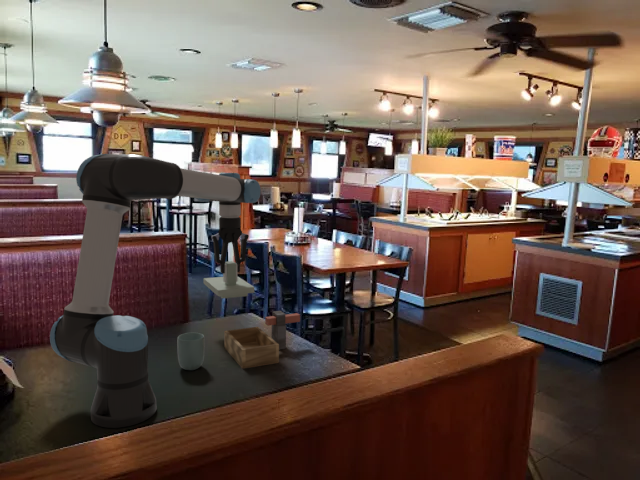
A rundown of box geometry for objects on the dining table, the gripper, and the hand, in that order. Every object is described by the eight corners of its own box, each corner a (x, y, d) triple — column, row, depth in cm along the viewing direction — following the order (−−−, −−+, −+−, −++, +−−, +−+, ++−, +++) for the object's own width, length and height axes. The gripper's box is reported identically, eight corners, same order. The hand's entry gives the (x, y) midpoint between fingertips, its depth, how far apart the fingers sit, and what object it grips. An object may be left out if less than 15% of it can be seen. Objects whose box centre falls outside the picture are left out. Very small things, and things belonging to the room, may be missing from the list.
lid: (254, 296, 173) (254, 264, 171) (218, 300, 167) (217, 267, 165) (236, 284, 191) (236, 255, 190) (203, 287, 185) (203, 257, 184)
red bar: (300, 321, 171) (300, 315, 171) (267, 325, 166) (267, 318, 165) (297, 319, 173) (297, 313, 173) (265, 323, 168) (265, 317, 167)
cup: (172, 369, 148) (171, 337, 147) (190, 361, 155) (190, 330, 154) (192, 374, 144) (191, 342, 143) (209, 366, 151) (209, 335, 150)
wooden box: (298, 359, 158) (299, 323, 157) (242, 368, 150) (242, 330, 148) (276, 340, 176) (276, 308, 174) (224, 347, 167) (224, 313, 166)
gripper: (248, 215, 180) (248, 277, 183) (204, 216, 172) (205, 281, 176) (255, 217, 173) (255, 281, 176) (209, 218, 166) (210, 285, 169)
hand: (230, 281), depth 176 cm, fingers closed on lid, 3 cm apart
